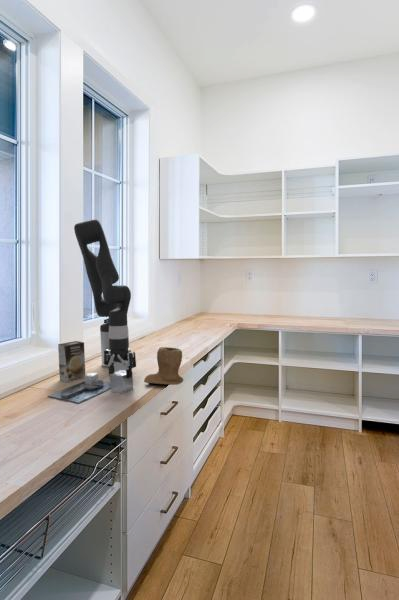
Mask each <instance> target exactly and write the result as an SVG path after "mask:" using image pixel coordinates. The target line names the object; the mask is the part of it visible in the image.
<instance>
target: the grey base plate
mask: <svg viewBox="0 0 399 600" xmlns="http://www.w3.org/2000/svg"><path fill="white" fill-rule="evenodd" d="M109 390H110V391H111V387H110V382H109V381H104V380H102V379H99V374H98V373H96V372H95V373H94V372H90V373H87V374H85V378H84V381H82V382H79V383H76V384H73V385H72V386H69V387H66V388H64V389H62V390H59V391H55V392H54V393H51V394H48V395H47V397H48V398H52V399H55V400H60V401H64V402H65V401H66V402H70V403H73V404H77V405H78V404H81V403H83V402H86V401H88V400H90V399H91V398H94V397H96V396H98V395H101V394H103V393H104V392H107V391H109Z"/></svg>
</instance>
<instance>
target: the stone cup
mask: <svg viewBox="0 0 399 600" xmlns="http://www.w3.org/2000/svg"><path fill="white" fill-rule="evenodd" d="M182 358H183V350H182V349H180V348H177V347H167V346H165V347H164V346H163V347H162V346H161V347H159V348H158V350H157V352H156V362H157V365H158V372H156V373H150V374H148V375H146V377H144V380H143V382H144V383H146V384H147V383H148V384H155V385H174V386H175V385H176V386H177V385H180V384H181V383H183V382H184V377H183V376H180V375H179V372H180V371H179V370H180V367H181V365H182V364H181V363H182V361H183V360H182Z"/></svg>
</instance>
